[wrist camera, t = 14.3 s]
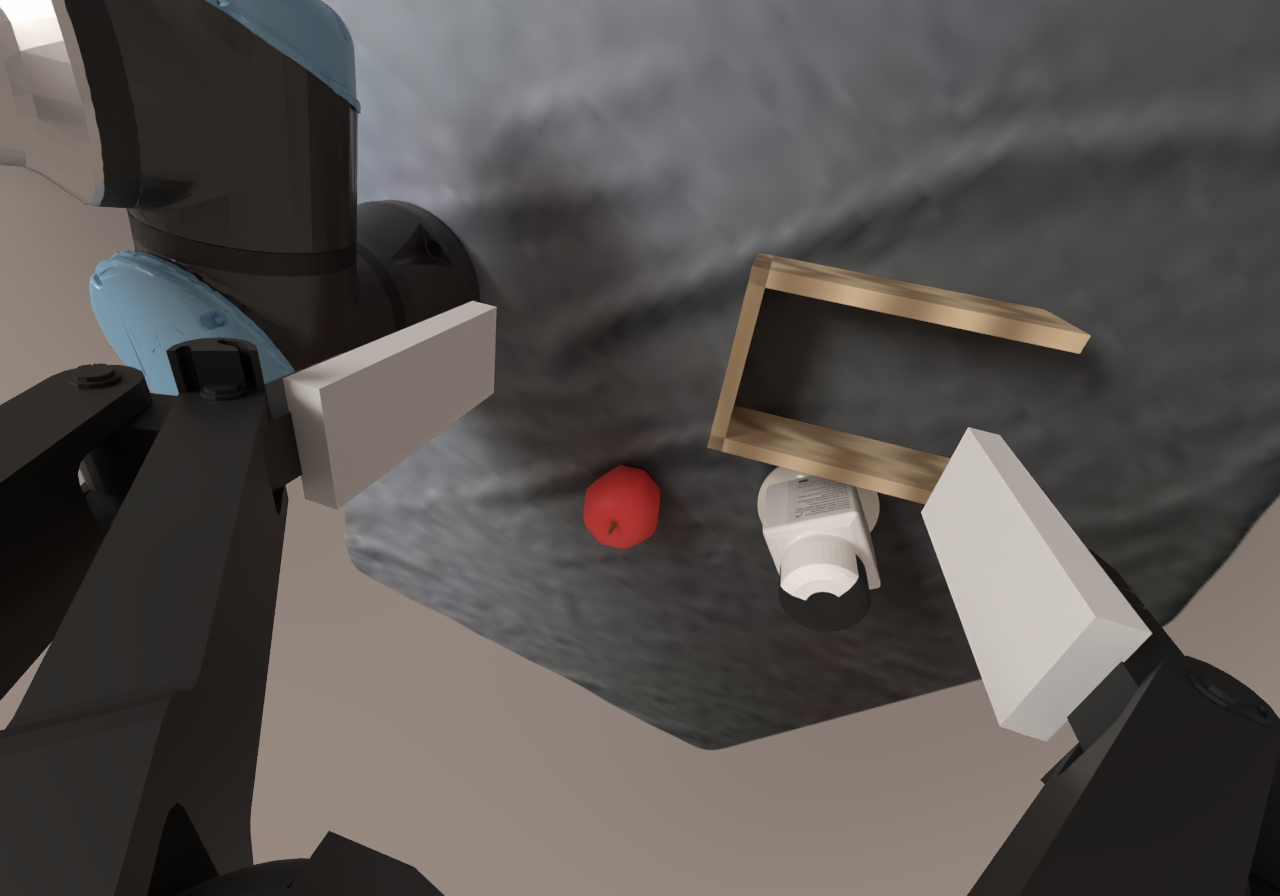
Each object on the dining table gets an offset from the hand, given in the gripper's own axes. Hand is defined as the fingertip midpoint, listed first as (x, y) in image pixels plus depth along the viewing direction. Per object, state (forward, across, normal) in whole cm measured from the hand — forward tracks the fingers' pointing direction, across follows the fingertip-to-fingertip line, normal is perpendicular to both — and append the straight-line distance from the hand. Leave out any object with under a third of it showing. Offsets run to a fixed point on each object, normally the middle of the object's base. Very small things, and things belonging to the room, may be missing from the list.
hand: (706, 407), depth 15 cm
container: (+31, +11, -21) cm, 39 cm away
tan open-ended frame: (+31, +11, -7) cm, 34 cm away
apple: (+32, -7, -25) cm, 41 cm away
